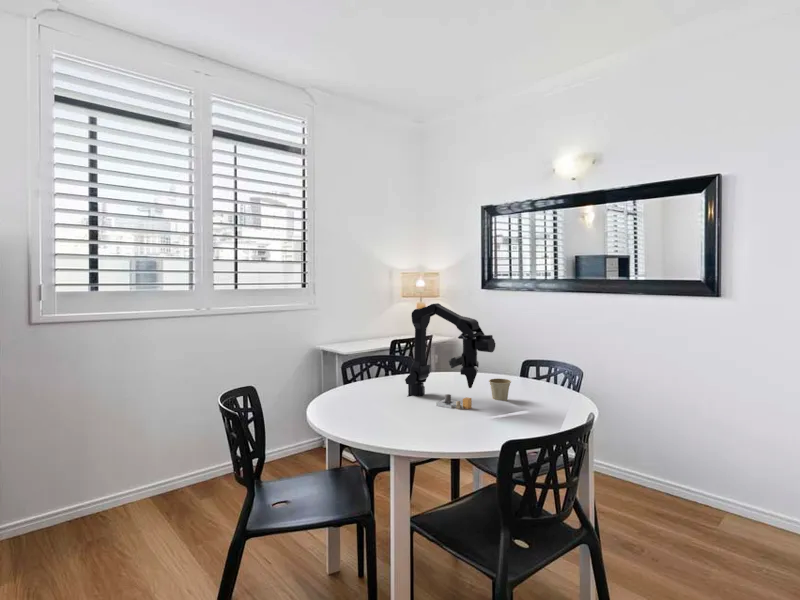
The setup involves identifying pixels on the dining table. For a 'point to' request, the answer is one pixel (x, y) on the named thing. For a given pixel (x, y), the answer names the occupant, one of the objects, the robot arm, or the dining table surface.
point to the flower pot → (500, 388)
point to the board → (448, 400)
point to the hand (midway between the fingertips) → (470, 387)
